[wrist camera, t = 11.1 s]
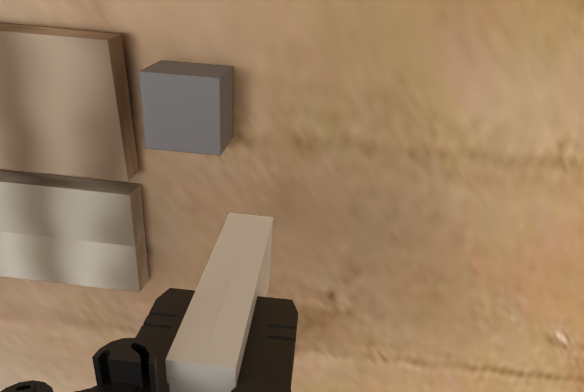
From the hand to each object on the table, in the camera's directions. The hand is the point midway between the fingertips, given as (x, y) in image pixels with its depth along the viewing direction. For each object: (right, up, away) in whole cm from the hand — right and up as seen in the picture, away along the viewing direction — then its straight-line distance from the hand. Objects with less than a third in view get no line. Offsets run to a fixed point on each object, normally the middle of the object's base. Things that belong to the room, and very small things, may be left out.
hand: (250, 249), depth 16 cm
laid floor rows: (-19, 0, +22) cm, 29 cm away
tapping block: (-5, +9, +17) cm, 19 cm away
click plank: (-18, +9, +17) cm, 26 cm away
